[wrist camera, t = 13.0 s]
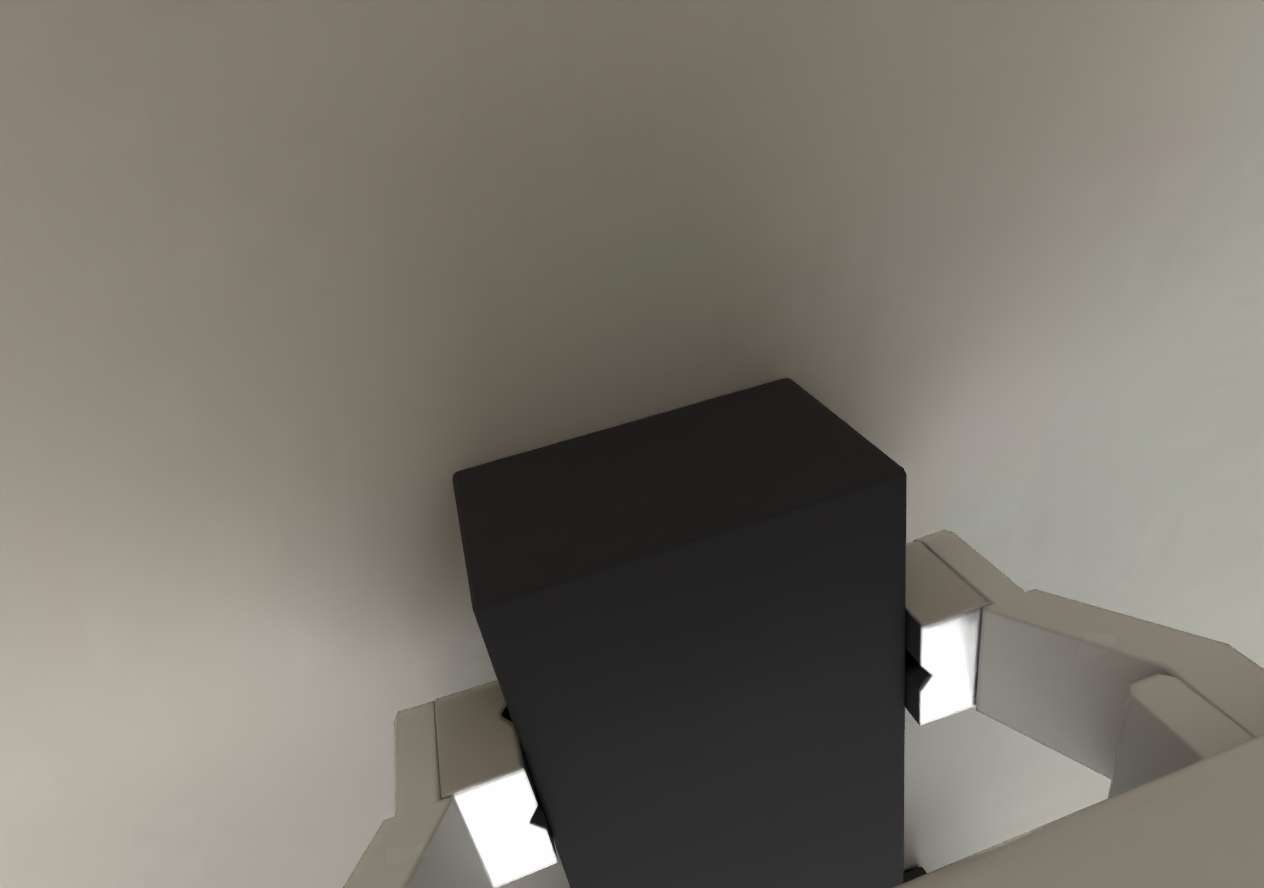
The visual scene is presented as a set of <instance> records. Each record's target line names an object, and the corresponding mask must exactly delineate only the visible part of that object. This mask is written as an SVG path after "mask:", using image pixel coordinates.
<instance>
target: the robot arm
mask: <svg viewBox="0 0 1264 888" xmlns="http://www.w3.org/2000/svg"><path fill="white" fill-rule="evenodd" d="M973 707H976V710H977V711H979V712H981V713H983V714H985V715H987V716H989V717H991V718H993V719H995V720H996V721H998V722H1000V723H1002V724H1004V725H1006V726H1008V727H1010V728H1012V729H1014V730H1016V731H1018V732H1020V733H1022V734H1024V735H1026V736H1028V737H1030V738H1032V739H1034V740H1036V741H1037V742H1039V743H1041V744H1043V745H1045V746H1047V747H1049V748H1051V749H1053V750H1055V751H1057V752H1059V753H1061V754H1063V755H1065V756H1067V757H1069V758H1071V759H1073V760H1075V761H1077V762H1078V763H1080V764H1082V765H1084V766H1086V767H1088V768H1090V769H1092V770H1094V771H1096V772H1098V773H1100V774H1102V775H1104V776H1106V777H1108V778H1110V779H1111V783H1110V788H1109V793H1108V798H1107V799H1106V800H1103V801H1101V802H1098V803H1096V804H1094V805H1091V806H1089V807H1086V808H1084V809H1082V810H1079V811H1077V812H1074V813H1072V814H1069V815H1067V816H1065V817H1062V818H1060V819H1057V820H1055V821H1053V822H1050V823H1048V824H1045V825H1043V826H1041V827H1038V828H1036V829H1033V830H1031V831H1028V832H1026V833H1024V834H1021V835H1019V836H1016V837H1014V838H1012V839H1009V840H1007V841H1004V842H1002V843H1000V844H997V845H995V846H992V847H990V848H988V849H985V850H983V851H980V852H978V853H975V854H973V855H971V856H968V857H966V858H963V859H961V860H959V861H956V862H954V863H951V864H949V865H947V866H944V867H942V868H939V869H937V870H934V871H932V872H930V873H927V874H925V875H922V876H920V877H918V878H915V879H913V880H910V881H908V882H906V883H903V884H901V885H898V886H896V887H893V888H1264V669H1263V668H1262V667H1260V666H1259V665H1257V664H1256V663H1254V662H1253V661H1252V660H1250V659H1249V658H1247V657H1246V656H1244V655H1243V654H1241V653H1240V652H1239V651H1237V650H1236V649H1234V648H1233V647H1231V646H1230V645H1229V644H1226V643H1222V642H1219V641H1215V640H1212V639H1208V638H1205V637H1201V636H1198V635H1194V634H1191V633H1187V632H1184V631H1180V630H1177V629H1173V628H1170V627H1166V626H1162V625H1159V624H1155V623H1152V622H1148V621H1145V620H1141V619H1138V618H1134V617H1131V616H1127V615H1124V614H1120V613H1117V612H1113V611H1110V610H1106V609H1103V608H1099V607H1096V606H1092V605H1089V604H1085V603H1082V602H1078V601H1075V600H1071V599H1067V598H1064V597H1060V596H1057V595H1053V594H1050V593H1046V592H1043V591H1039V590H1036V589H1034V590H1031V591H1028V592H1025V591H1024V590H1022V589H1021V588H1020V587H1019V586H1017V585H1016V584H1015V583H1014V582H1013V581H1011V580H1010V579H1009V578H1008V577H1007V576H1005V575H1004V574H1003V573H1002V572H1001V571H999V570H998V569H997V568H996V567H994V566H993V565H992V564H991V563H990V562H988V561H987V560H986V559H985V558H984V557H982V556H981V555H980V554H979V553H977V552H976V551H975V550H974V549H973V548H971V547H970V546H969V545H968V544H967V543H965V542H964V541H963V540H962V539H961V538H959V537H958V536H957V535H956V534H954V533H953V532H951V531H947V530H942V531H939V532H936V533H933V534H931V535H928V536H925V537H922V538H919V539H916V540H914V541H913V542H909V543H906V597H905V708H906V709H907V710H908V711H909V713H910V714H911V715H912V716H913V717H914V719H915V720H916V721H917V722H918V724H919V725H920V726H921V725H924V724H927V723H929V722H932V721H935V720H938V719H941V718H944V717H947V716H950V715H953V714H956V713H958V712H961V711H964V710H967V709H970V708H973ZM394 734H395V817H392V818H390V819H387V820H384V821H383V822H382V824H381V826H380V827H379V829H378V831H377V832H376V834H375V836H374V837H373V839H372V841H371V842H370V844H369V845H368V847H367V849H366V850H365V852H364V854H363V855H362V857H361V859H360V860H359V862H358V864H357V865H356V867H355V868H354V870H353V872H352V873H351V875H350V877H349V878H348V880H347V882H346V883H345V885H344V886H343V888H497V887H500V886H502V885H504V884H507V883H509V882H512V881H514V880H517V879H519V878H522V877H524V876H526V875H529V874H531V873H534V872H536V871H539V870H541V869H543V868H546V867H548V866H551V865H553V864H556V863H558V860H557V855H556V850H555V846H554V841H553V836H552V833H551V830H550V827H549V824H548V821H547V818H546V815H545V812H544V809H543V806H542V804H541V802H540V799H539V796H538V793H537V790H536V788H535V785H534V782H533V778H532V775H531V772H530V770H529V767H528V764H527V761H526V759H525V756H524V753H523V750H522V748H521V745H520V742H519V739H518V736H517V733H516V731H515V728H514V725H513V722H512V719H511V716H510V714H509V711H508V708H507V705H506V702H505V699H504V696H503V694H502V691H501V688H500V685H499V682H498V680H497V681H494V682H490V683H487V684H484V685H481V686H477V687H474V688H471V689H468V690H464V691H461V692H458V693H455V694H451V695H448V696H445V697H442V698H438V699H436V701H432V702H429V703H425V704H422V705H419V706H415V707H412V708H409V709H405V710H402V711H399V712H398V713H397V716H396V719H395V722H394Z"/></svg>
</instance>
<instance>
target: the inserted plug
mask: <svg viewBox="0 0 1264 888" xmlns="http://www.w3.org/2000/svg"><path fill="white" fill-rule="evenodd" d="M453 486H454V492H455V498H456V505H457V511H458V518H459V524H460V530H461V537H462V543H463V550H464V556H465V562H466V569H467V575H468V582H469V588H470V594H471V601H472V607H473V611H474V614H475V617H476V620H477V622H478V625H479V628H480V631H481V634H482V637H483V639H484V642H485V645H486V648H487V651H488V654H489V657H490V659H491V662H492V665H493V668H494V671H495V674H496V677H497V679H498V682H499V685H500V688H501V691H502V694H503V696H504V699H505V702H506V705H507V708H508V711H509V714H510V716H511V719H512V722H513V725H514V728H515V731H516V733H517V736H518V739H519V742H520V745H521V748H522V750H523V753H524V756H525V759H526V761H527V764H528V767H529V770H530V772H531V775H532V778H533V782H534V785H535V788H536V790H537V793H538V796H539V799H540V802H541V804H542V806H543V809H544V812H545V815H546V818H547V821H548V824H549V827H550V830H551V833H552V836H553V839H554V842H555V845H556V847H557V850H558V853H559V856H560V859H561V862H562V864H563V867H564V870H565V873H566V876H567V879H568V882H569V884H570V887H571V888H893V887H896V886H898V885H901V884H903V864H904V730H905V597H906V473H905V471H904V469H903V468H902V467H901V466H900V465H898V464H897V463H896V462H895V461H893V460H892V459H891V458H890V457H888V456H887V455H886V454H884V453H883V452H882V451H881V450H879V449H878V448H877V447H876V446H874V445H873V444H872V443H871V442H869V441H868V440H867V439H866V438H864V437H863V436H862V435H861V434H859V433H858V432H857V431H856V430H854V429H853V428H852V427H851V426H849V425H848V424H847V423H846V422H844V421H843V420H842V419H840V418H839V417H838V416H837V415H835V414H834V413H833V412H832V411H830V410H829V409H828V408H827V407H825V406H824V405H823V404H822V403H820V402H819V401H818V400H817V399H815V398H814V397H813V396H812V395H810V394H809V393H808V392H807V391H805V390H804V389H803V388H801V387H800V386H799V385H798V384H796V383H795V382H794V381H793V380H791V379H788V378H785V379H781V380H778V381H774V382H771V383H767V384H764V385H760V386H757V387H753V388H750V389H746V390H743V391H739V392H736V393H732V394H729V395H725V396H722V397H718V398H715V399H711V400H708V401H704V402H701V403H697V404H693V405H690V406H686V407H683V408H679V409H676V410H672V411H669V412H665V413H662V414H658V415H655V416H651V417H648V418H644V419H641V420H637V421H634V422H630V423H627V424H623V425H620V426H616V427H613V428H609V429H606V430H602V431H599V432H595V433H592V434H588V435H585V436H581V437H578V438H574V439H571V440H567V441H564V442H560V443H557V444H553V445H550V446H546V447H543V448H539V449H536V450H532V451H529V452H525V453H522V454H518V455H515V456H511V457H508V458H504V459H501V460H497V461H494V462H490V463H487V464H483V465H480V466H476V467H472V468H469V469H465V470H462V471H458V472H456V473H455V474H454V475H453Z"/></svg>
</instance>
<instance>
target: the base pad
mask: <svg viewBox="0 0 1264 888" xmlns="http://www.w3.org/2000/svg"><path fill="white" fill-rule="evenodd" d="M925 874H927V873H926V872H925V870H924V869H923V868H922V867H917V868H915V869H912V870H910V871H908V872H905V873H903V883H906V882H908V881H910V880H913V879H915V878H918V877H920V876H922V875H925Z"/></svg>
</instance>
